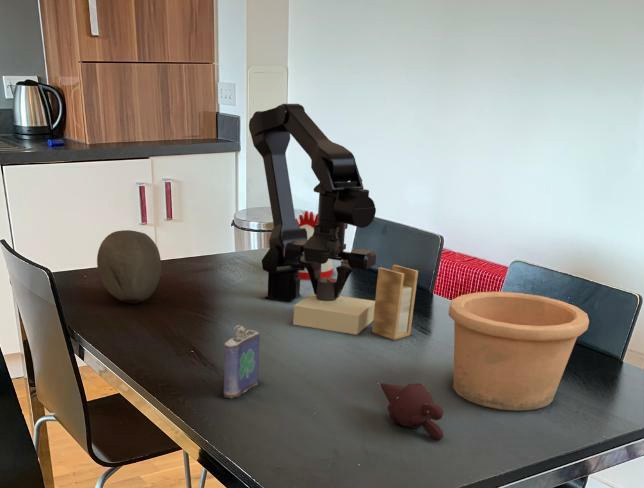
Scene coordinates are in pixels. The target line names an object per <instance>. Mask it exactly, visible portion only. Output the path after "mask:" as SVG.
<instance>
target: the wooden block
mask: <svg viewBox="0 0 644 488" xmlns="http://www.w3.org/2000/svg"><path fill="white" fill-rule="evenodd" d="M306 296H307V297H305V298H303V299H302V300H300V301H299V302H297V303H296V304H294V305H293V321H292V322H293V323H292V324H293V325H295V326H301V327H307V328H313V329H318V330H324V331H330V332H337V333H343V334H344V333H345V334H349V335H355V336H356V335H357V336H358V335H359V334H360V333H362V331H363V330H364V329H366V327H368V326H369V325H370V324H371V323H373V318H374V308H375V300H372V299H364V298H357V297H351V296H344V295H339V297H338V298H337V299H336V300H333V301H323V300H319V299H317V298H316V295H315V294H314V292H313V293H311V294H307V295H306Z"/></svg>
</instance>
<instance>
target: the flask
mask: <svg viewBox="0 0 644 488" xmlns="http://www.w3.org/2000/svg"><path fill="white" fill-rule="evenodd" d="M233 329H234V330H236V332H235V335H234V336H232V337H231V338H230V339H228V340H227V341H226V342H224V345H223V397H225V398H227V399H228V398H229V399H234V398H238V397H240V396H241V395H242V394H244V393H246V392H248V390H249V389H250V390H251V388H252V387H253V388H254V387H255V386H257V385H258V384H259V378H258V377H259V364H260V363H259V361H260V360H259V359H260V358H259V357H260V340H261V334H260V332H259V331H257V330H254V329H247V328H245V327H244V326H243V325H240V324H238V325H235V326H234V328H233Z"/></svg>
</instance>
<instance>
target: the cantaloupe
mask: <svg viewBox="0 0 644 488" xmlns="http://www.w3.org/2000/svg"><path fill="white" fill-rule="evenodd" d="M96 267H97V273H98V276H99V278H100V281H101V282H102V284H103V287H104V288H105V289H106V290H107V291H108V293H109V294H110V295H112V296H113V297H114V298H116V299H117V300H118V301H121V302H123V303H126V304H132V305H133V304H134V305H135V304H140V303H143V302H145V301H146V300H147V299H149V298H150V297H151V296H152V295H153V294H154V292H155V290H156V289H157V287H158V286H159V282H160V279H161V275H162V258H161V255H160V251H159V248H158V246H157V244H156V243H155V241H154V239H152V238H151V236H149V235H148V234H146V233H144V232H142V231H141V232H140V231H137V230H129V229H127V230H125V229H124V230H123V229H122V230H116V231H113V232H111V233H109V234H108V235H107V236H106V237H105V238H104V239H103V240H102V242H101V243H100V245H99V248H98V251H97V255H96Z"/></svg>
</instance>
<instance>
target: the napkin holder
mask: <svg viewBox="0 0 644 488" xmlns="http://www.w3.org/2000/svg"><path fill="white" fill-rule="evenodd" d="M418 276H419V270H417V269H413V268H409V267H405V266H402V265H398V264H392V266H391V269H388V268H385V267H378V270H377V277H376V278H377V280H376V290H375V297H374V298H375V299H374V301H375V308H374V318H373V321H372V330H371V333H372V334H374V335H375V334H376V335H377V336H378V335H379V336H381V337H385V338H387V339H391V340H393V341H395V340H399V339H403V338H406V337H409V336H411V331H412V325H413V316H414V308H415V301H416V293H417V286H418V285H417V283H418V278H419V277H418Z"/></svg>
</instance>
